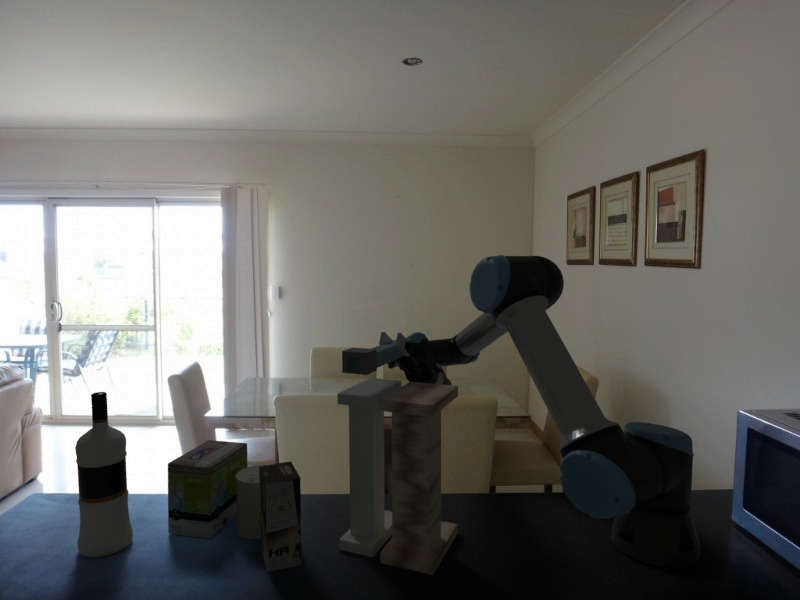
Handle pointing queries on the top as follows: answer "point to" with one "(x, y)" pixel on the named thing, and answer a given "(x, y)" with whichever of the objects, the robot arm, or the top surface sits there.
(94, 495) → the vodka
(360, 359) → the teal bar
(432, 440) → the pedestal
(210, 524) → the tea box
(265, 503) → the coffee box
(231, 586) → the top surface
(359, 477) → the stand
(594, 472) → the robot arm
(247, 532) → the can
